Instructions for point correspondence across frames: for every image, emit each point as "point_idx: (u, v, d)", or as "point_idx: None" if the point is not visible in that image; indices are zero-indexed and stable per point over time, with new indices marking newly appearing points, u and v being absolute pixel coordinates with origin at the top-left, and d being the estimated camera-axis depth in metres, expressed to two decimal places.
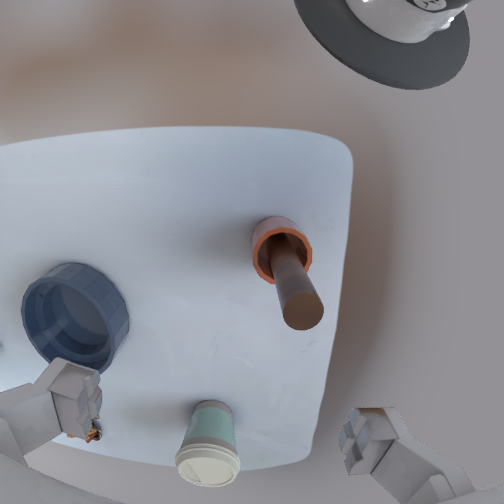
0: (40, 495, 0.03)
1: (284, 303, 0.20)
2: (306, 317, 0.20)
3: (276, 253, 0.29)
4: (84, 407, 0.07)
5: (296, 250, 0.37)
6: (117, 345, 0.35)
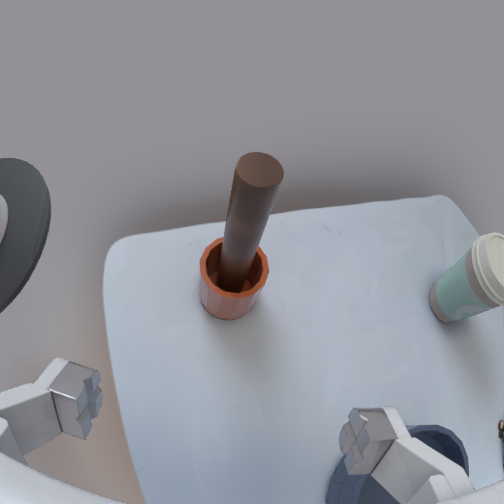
0: (40, 495, 0.03)
1: (256, 191, 0.17)
2: (264, 165, 0.17)
3: (228, 266, 0.25)
4: (84, 407, 0.07)
5: None
6: (410, 427, 0.24)
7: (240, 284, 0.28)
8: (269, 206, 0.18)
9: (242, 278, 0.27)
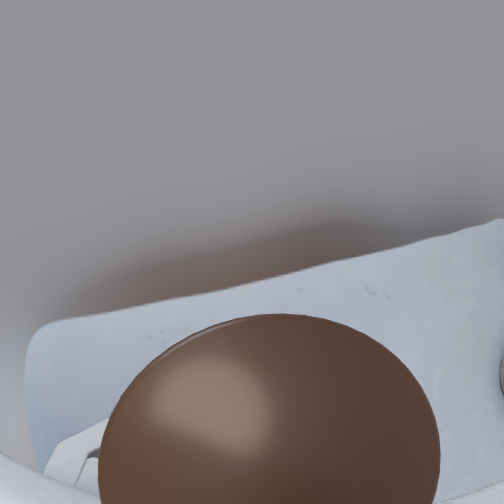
0: (40, 495, 0.03)
1: None
2: (328, 446, 0.02)
3: None
4: None
5: None
6: None
7: None
8: None
9: None
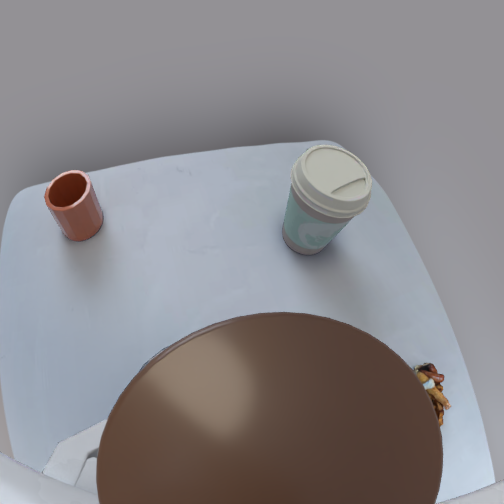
0: (40, 495, 0.03)
1: None
2: (329, 447, 0.02)
3: None
4: None
5: None
6: None
7: None
8: None
9: None
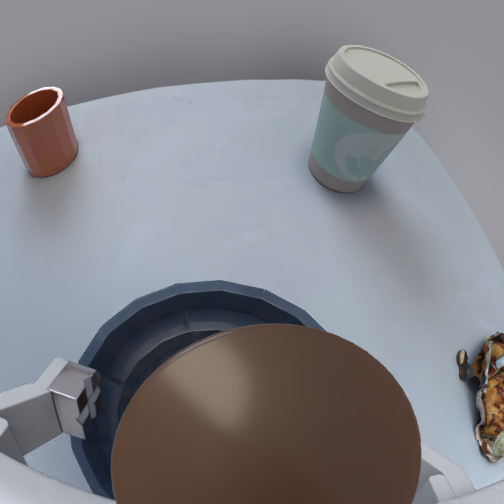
0: (40, 495, 0.03)
1: None
2: (316, 442, 0.02)
3: None
4: (84, 407, 0.07)
5: None
6: None
7: None
8: None
9: None
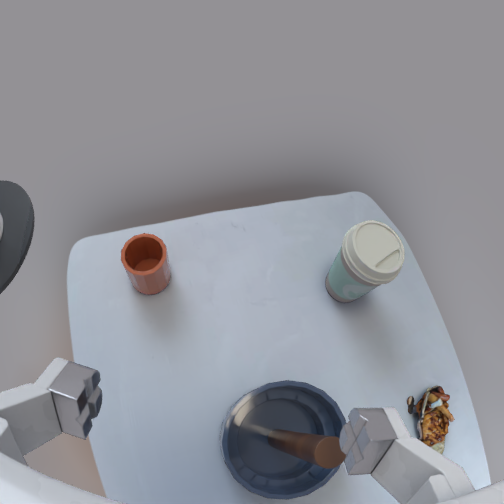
0: (40, 495, 0.03)
1: None
2: (334, 448, 0.20)
3: None
4: (84, 407, 0.07)
5: (152, 257, 0.44)
6: None
7: None
8: None
9: None
